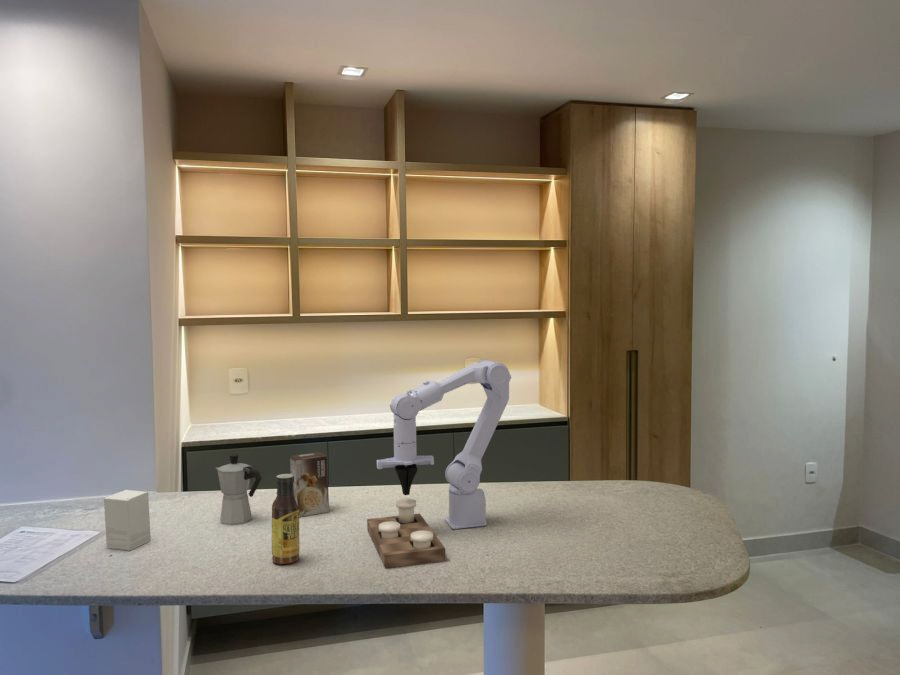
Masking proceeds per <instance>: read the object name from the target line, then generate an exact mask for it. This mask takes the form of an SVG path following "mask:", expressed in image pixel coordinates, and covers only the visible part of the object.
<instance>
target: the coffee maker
mask: <svg viewBox="0 0 900 675" xmlns="http://www.w3.org/2000/svg"><path fill="white" fill-rule="evenodd" d="M229 460H230V463H228V464H225V465H221V466H219V467H215V469H216V470H217V475H218V481H219V486H220V492H221V493H222V501H221V503H222V504H221V508H220V510H221V511H220V517H219V518H220V519H219V522H220V524H222V525H228V526H236V525H243V524H246V523H249V522H250V521H253V516H252V511H251V506H250V505H251V504H250V501H249V497H250V498H252V497H253V496H254V494H255V492H256V490H257V488H258V487H259V484H260V483H261V480H263V479H262V478H263V477H262V476H261V474H260V471H259V470H258V469H255V467H253V466H251V465H249V464H246V463H241V462H238V461H239V454H237V453H234V454H230V455H229ZM253 478H255V480H254V482H253V485H252V486H251V488H250V481H251V479H253ZM249 489H250V490H249ZM248 490H249V492H248Z"/></svg>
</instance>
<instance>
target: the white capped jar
mask: <svg viewBox="0 0 900 675" xmlns="http://www.w3.org/2000/svg"><path fill="white" fill-rule="evenodd" d="M395 507H396V508H398V516H399V522H400V523H412V522H414V514H415V508H416V507H417V500H416V499H415V498H414V499H413V498H407V497H406V498H400V499H397V500H396V501H395Z"/></svg>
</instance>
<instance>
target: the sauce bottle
mask: <svg viewBox="0 0 900 675" xmlns="http://www.w3.org/2000/svg"><path fill="white" fill-rule="evenodd" d="M275 482H276V497H275V499H274V501H273V502H272V506H271V555H272V557H271V559H272V562H273V563H275V564H276V565H289V564H292V563H295V562H297V561H298V560H299V558H300V517H299V508H298V506H297V503H296V500H295V496H294V491H293V483H294V475H293V474H291V473H281V474H278V475H276V476H275Z"/></svg>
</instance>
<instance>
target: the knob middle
mask: <svg viewBox="0 0 900 675" xmlns="http://www.w3.org/2000/svg"><path fill="white" fill-rule="evenodd" d="M399 530H400V523H398V522H393V521H388V522H383V523H380V524H379V531H380V532H381V539H387V538H396V537H398V531H399Z"/></svg>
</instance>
